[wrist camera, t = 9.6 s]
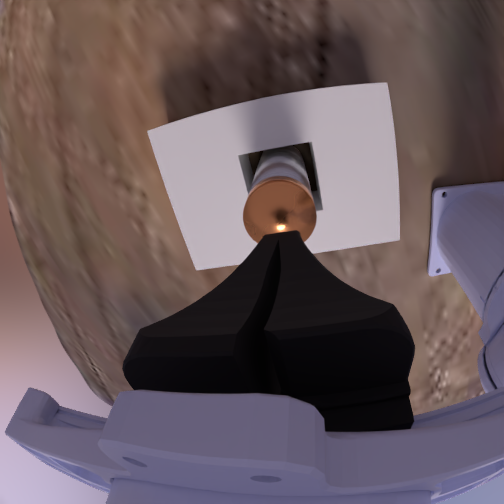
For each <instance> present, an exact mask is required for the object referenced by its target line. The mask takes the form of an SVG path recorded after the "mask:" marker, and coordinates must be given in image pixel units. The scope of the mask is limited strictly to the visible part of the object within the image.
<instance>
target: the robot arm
mask: <svg viewBox="0 0 504 504" xmlns="http://www.w3.org/2000/svg"><path fill="white" fill-rule="evenodd" d="M443 192H445V195H444V196H442V193H443ZM438 268H439V269H438ZM437 269H438V270H437ZM436 270H437V271H436ZM427 272H428V274H429V275H430V276H436V275H441V274H446V273H451V272H452V274H453V275H454V277H455V278H456V280H457V281H458V283H459V284H460V286H461V287H462V289H463V290H464V292H465V293H466V295H467V296H468V298H469V300H470V301H471V303H472V305H473V306H474V308H475V309H476V311H477V313H478V315H479V316H480V318H481V320H482V321H483V325H482V327H481V329H480V330H479V332H478V333H479V335H480V337H481V339H482V341H483V343H484V347H483V348H482V349H481V351H480V353H479V356H478V371H479V375H480V380H481V383H482V386H483V388H484V391H485V392H486V393H485V394H483V395H480V396H477V397H475V398H472V399H469V400H466V401H463V402H460V403H457V404H454V405H451V406H448V407H444V408H441V409H438V410H434V411H430V412H427V413H423V414H419V415H415V416H413V412H412V408H411V404H410V399H409V395H410V393H411V391H410V386H409V382H408V376H409V373H410V369H411V366H412V362H413V358H414V352H415V345H414V342H413V338H412V335H411V333H410V331H409V329H408V327H407V325H406V323H405V321H404V320H403V318H402V316H401V315H400V313H399V312H398V310H397V308H396V307H395V306H394V305H393V304H391V303H388V302H385V301H382V300H380V299H377V298H374V297H371V296H369V295H367V294H364V293H362V292H360V291H358V290H356V289H354V288H352V287H351V286H349V285H347V284H346V283H344V282H343V281H341V280H340V279H338V278H337V277H336V276H334V275H333V274H332V273H331V272H330V271H328V270H327V269H326V268H325V267H324V266H323V265H322V264H321V263H320V262H319V261H318V260H317V259H316V257H315V256H314V255H313V254H312V253H311V251H310V250H309V249H308V247H307V246H306V244H305V243H304V241H303V240H302V238H301V235H300V232H299V231H297V230H293V231H286V232H280V233H273V234H266V235H264V236H263V238H262V239H261V240H260V242H259V243H258V244H257V245H256V247H255V248H254V249H253V250H252V252H251V253H250V254H249V255H248V256H247V258H246V259H245V260H244V261H243V262H242V263H241V264H240V265H239V266H238V267H237V268H236V270H235V271H234V272H233V273H232V274H231V275H230V276H229V277H227V278H226V279H225V280H224V281H223V282H222V283H221V284H219V285H218V286H217V287H216V288H214V289H213V290H212V291H210V292H209V293H208V294H206V295H205V296H203V297H202V298H200V299H199V300H197V301H196V302H195V303H193V304H191V305H190V306H188V307H186V308H184V309H183V310H181V311H179V312H177V313H175V314H173V315H171V316H169V317H167V318H165V319H163V320H161V321H158V322H156V323H154V324H151V325H149V326H147V327H144V328H142V329H140V330H139V332H138V334H137V336H136V338H135V340H134V342H133V344H132V346H131V348H130V350H129V352H128V354H127V356H126V358H125V360H124V362H123V368H122V369H123V372H124V376H125V378H126V379H127V381H128V382H129V384H130V385H131V387H132V388H133V389H134V390H132V391H123V392H120V393H119V394H118V396H117V398H116V400H115V402H114V404H113V407H112V409H111V411H110V414H109V416H108V418H103V417H99V416H94V415H91V414H87V413H83V412H79V411H76V410H72V409H69V408H65V407H62V406H59V404H58V403H57V402H56V401H55V400H54V399H53V398H52V397H51V396H50V395H48V394H47V393H45V392H43V391H40V390H37V389H34V388H28V390H27V392H26V393H25V395H24V397H23V399H22V400H21V402H20V404H19V406H18V408H17V410H16V411H15V413H14V415H13V417H12V419H11V421H10V423H9V424H8V427H7V428H6V431H5V433H6V435H8V436H9V437H10V438H11V439H12V440H14V441H15V442H16V443H17V444H19V445H20V446H21V447H23V448H24V449H25V450H27V451H28V452H29V453H31V454H32V455H34V456H35V457H36V458H38V459H39V460H41V461H42V462H44V463H45V464H47V465H49V466H51V467H53V468H54V469H56V470H58V471H60V472H62V473H64V474H66V475H68V476H70V477H72V478H74V479H77V480H79V481H80V482H83V483H85V484H87V485H89V486H92V487H94V488H96V489H98V490H101V491H103V492H106V493H108V494H109V495H108V499H107V501H106V504H436V503H439V502H442V501H445V500H447V499H450V498H453V497H455V496H458V495H460V494H462V493H465V492H467V491H469V490H471V489H474V488H476V487H478V486H480V485H482V484H485V483H487V482H489V481H491V480H493V479H495V478H497V477H499V476H500V475H502V474H504V181H501V182H490V183H479V184H468V185H458V186H449V187H440V188H435V189H434V190H433V192H432V217H431V236H430V249H429V260H428V269H427Z"/></svg>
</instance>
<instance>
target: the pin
mask: <svg viewBox="0 0 504 504" xmlns="http://www.w3.org/2000/svg"><path fill="white" fill-rule="evenodd" d="M316 221H317V214H316V209H315V204H314V200H313V196H312V192H311V188H310V184H309V180H308V176H307V172H306V168H305V164H304V161H303V157H302V155H301V153H300V152H299V150H298V149H297V148H295V147H294V146H292V145H289V146H283V147H278V148H272V149H267V150H264V152H263V153H262V155H261V158H260V161H259V164H258V167H257V170H256V173H255V176H254V179H253V182H252V185H251V188H250V191H249V194H248V197H247V200H246V203H245V206H244V210H243V223H244V226H245V229H246V231H247V233H248V234H249V236H250V237H251V238H252V239H253V240H254V241H255V242H256V243H259V242H260V240H261V239H262V238H263V236H264V235H266V234H273V233H280V232H286V231H293V230H297V231H299V232H300V235H301V238H302V240H303V241H304V242H305V241H306V240H307V239H308V238H309V237H310V236H311V234H312V233H313V231H314V229H315V226H316Z"/></svg>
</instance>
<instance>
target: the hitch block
mask: <svg viewBox="0 0 504 504" xmlns="http://www.w3.org/2000/svg"><path fill="white" fill-rule="evenodd" d="M147 132H148V135H149V138H150V141H151V145H152V148H153V151H154V154H155V157H156V160H157V163H158V166H159V169H160V172H161V175H162V178H163V181H164V184H165V187H166V190H167V193H168V195H169V198H170V201H171V204H172V207H173V210H174V212H175V215H176V218H177V221H178V223H179V226H180V229H181V232H182V234H183V237H184V240H185V242H186V245H187V248H188V250H189V253H190V255H191V258H192V261H193V263H194V266H195V268H196V270H203V269H210V268H217V267H224V266H231V265H238V264H241V263H242V262H243V261H244V260H245V259H246V258H247V256H248V255H249V254H250V253H251V252H252V250H253V249H254V248H255V247H256V245H257V244H258V243H256V242H255V241H254V240H253V239H252V238H251V237H250V236H249V234H248V233H247V231H246V229H245V226H244V223H243V210H244V206H245V203H246V200H247V197H248V194H249V191H250V188H251V185H252V182H253V179H254V176H253V172H252V168H251V164H250V160H249V156H248V153H252V152H257V151H262V150H267V149H272V148H278V147H283V146H289V145H294V144H300V143H307V142H309V145H310V150H311V156H312V161H313V167H314V173H315V178H316V184H317V190H318V191H312V196H313V200H314V204H315V209H316V214H317V221H316V226H315V229H314V231H313V233H312V234H311V236H310V237H309V238H308V239H307V240H306V241H305V242H304V243H305V244H306V246H307V247H308V249H309V250H310V251H311V253H312V254H313V253H319V252H326V251H333V250H339V249H346V248H352V247H359V246H365V245H372V244H378V243H384V242H391V241H397V240H400V205H399V180H398V164H397V152H396V142H395V133H394V124H393V117H392V109H391V103H390V97H389V91H388V85H387V83H364V84H352V85H342V86H333V87H325V88H317V89H310V90H304V91H297V92H291V93H286V94H280V95H275V96H270V97H265V98H260V99H255V100H251V101H246V102H242V103H238V104H234V105H230V106H226V107H222V108H218V109H214V110H211V111H207V112H203V113H200V114H196V115H193V116H190V117H187V118H183V119H180V120H177V121H174V122H171V123H168V124H165V125H162V126H160V127H157V128H154V129H152V130H149V131H147Z"/></svg>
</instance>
